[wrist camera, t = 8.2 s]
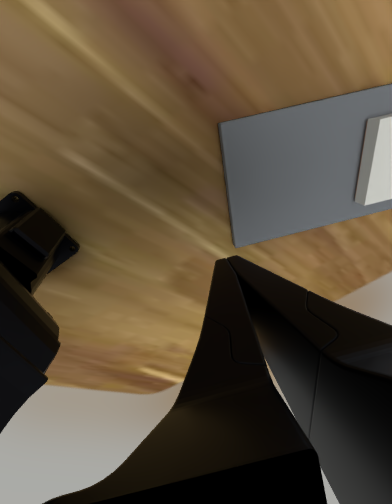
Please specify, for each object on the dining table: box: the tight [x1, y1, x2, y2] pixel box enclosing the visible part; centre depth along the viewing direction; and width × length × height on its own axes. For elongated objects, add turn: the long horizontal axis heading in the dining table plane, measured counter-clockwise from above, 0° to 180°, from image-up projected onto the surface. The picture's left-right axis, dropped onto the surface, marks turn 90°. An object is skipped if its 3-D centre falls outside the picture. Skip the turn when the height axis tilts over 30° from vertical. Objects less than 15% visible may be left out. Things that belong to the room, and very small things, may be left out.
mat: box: [218, 83, 392, 248], centre depth 21 cm, size 19×11×1 cm, turn 101°
